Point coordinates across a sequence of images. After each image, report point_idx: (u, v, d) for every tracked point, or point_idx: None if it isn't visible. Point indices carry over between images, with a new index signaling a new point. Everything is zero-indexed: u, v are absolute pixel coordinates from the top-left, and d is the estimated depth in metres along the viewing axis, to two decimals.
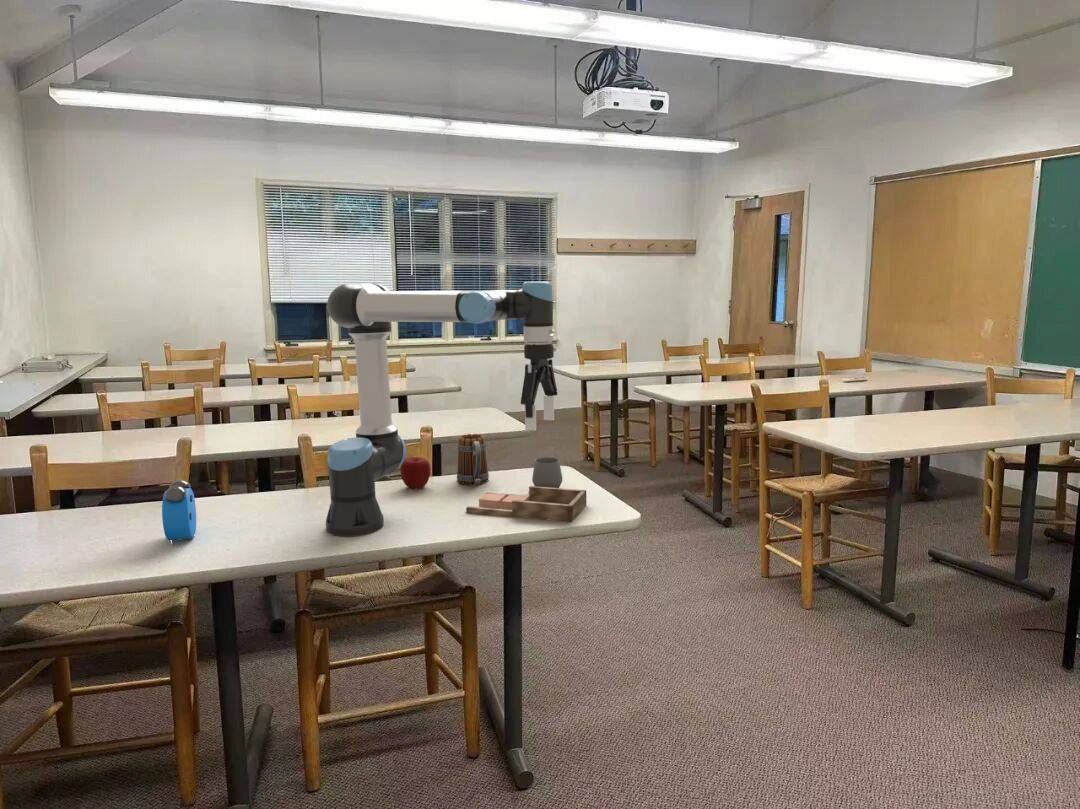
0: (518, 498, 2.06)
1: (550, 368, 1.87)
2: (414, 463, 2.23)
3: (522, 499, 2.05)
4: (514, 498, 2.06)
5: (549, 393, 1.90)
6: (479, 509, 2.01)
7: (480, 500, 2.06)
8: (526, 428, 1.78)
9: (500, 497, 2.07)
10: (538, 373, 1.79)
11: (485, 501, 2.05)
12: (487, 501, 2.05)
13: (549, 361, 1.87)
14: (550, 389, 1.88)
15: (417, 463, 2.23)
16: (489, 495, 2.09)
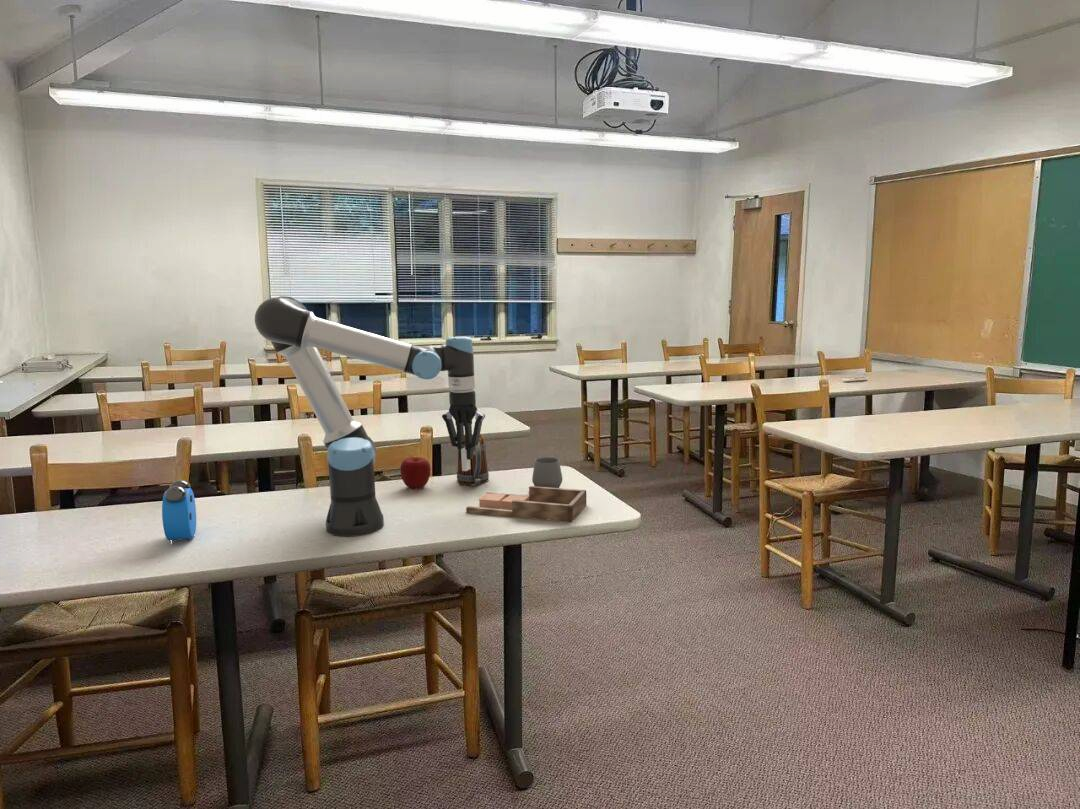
0: (518, 498, 2.06)
1: (476, 421, 2.04)
2: (414, 463, 2.23)
3: (522, 499, 2.05)
4: (514, 498, 2.06)
5: None
6: (479, 509, 2.01)
7: (480, 500, 2.06)
8: None
9: (500, 497, 2.07)
10: None
11: (485, 501, 2.05)
12: (487, 501, 2.05)
13: (479, 415, 2.04)
14: None
15: (417, 463, 2.23)
16: (489, 495, 2.09)
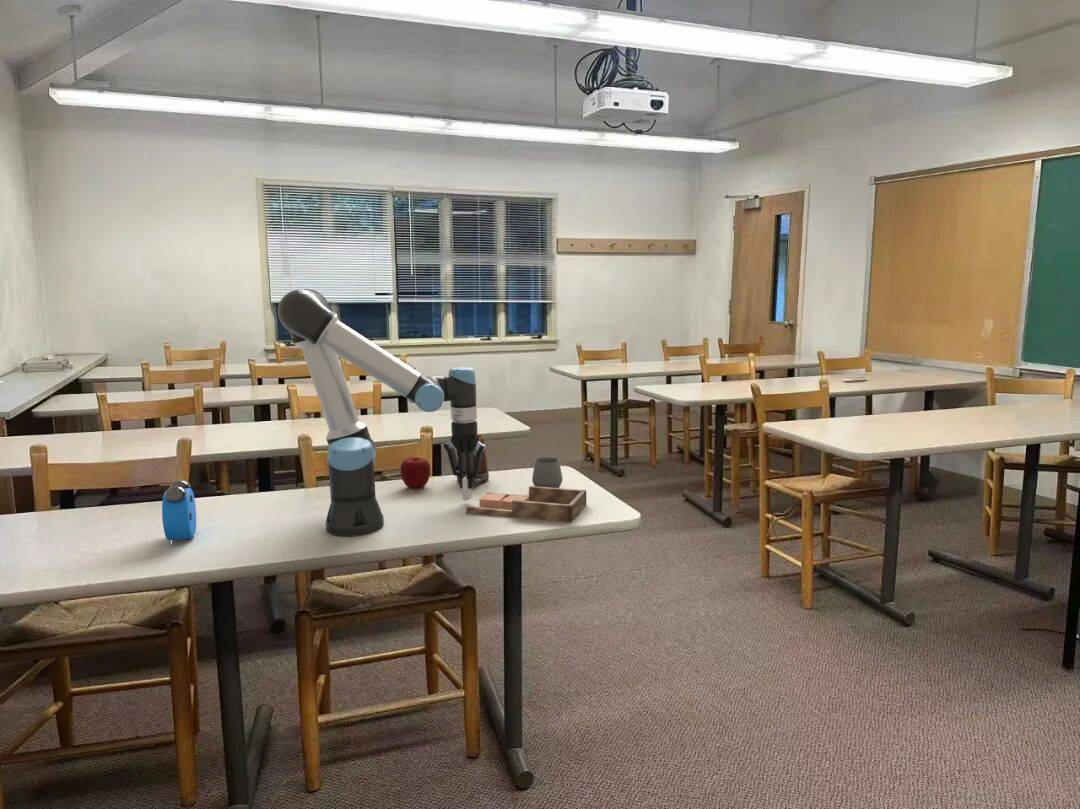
0: (518, 498, 2.06)
1: None
2: (414, 463, 2.23)
3: (522, 499, 2.05)
4: (514, 498, 2.06)
5: None
6: (479, 509, 2.01)
7: (480, 500, 2.06)
8: None
9: (500, 497, 2.07)
10: None
11: (486, 501, 2.05)
12: (487, 501, 2.05)
13: (480, 446, 2.05)
14: None
15: (417, 463, 2.23)
16: (489, 495, 2.09)
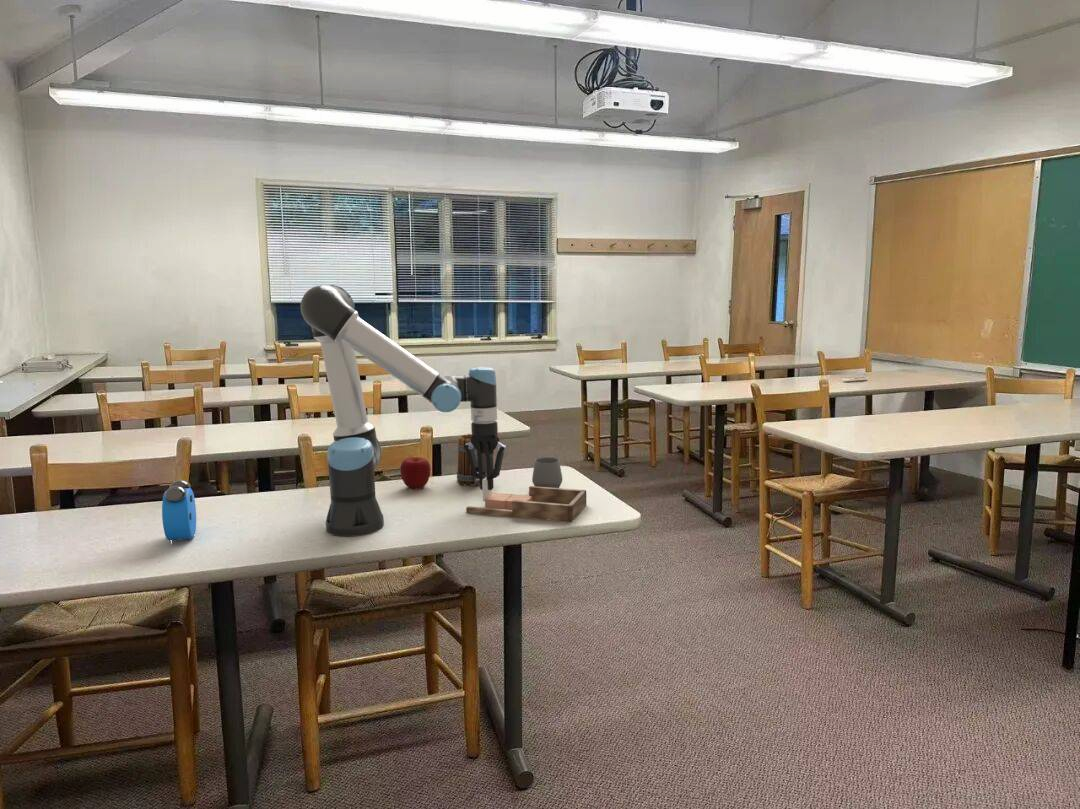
0: (522, 498, 2.06)
1: (498, 452, 2.04)
2: (414, 463, 2.23)
3: (526, 499, 2.05)
4: (518, 498, 2.06)
5: None
6: (479, 509, 2.01)
7: (486, 500, 2.05)
8: None
9: (506, 497, 2.06)
10: None
11: (491, 501, 2.04)
12: (493, 501, 2.04)
13: (501, 446, 2.03)
14: None
15: (417, 463, 2.23)
16: (495, 495, 2.09)
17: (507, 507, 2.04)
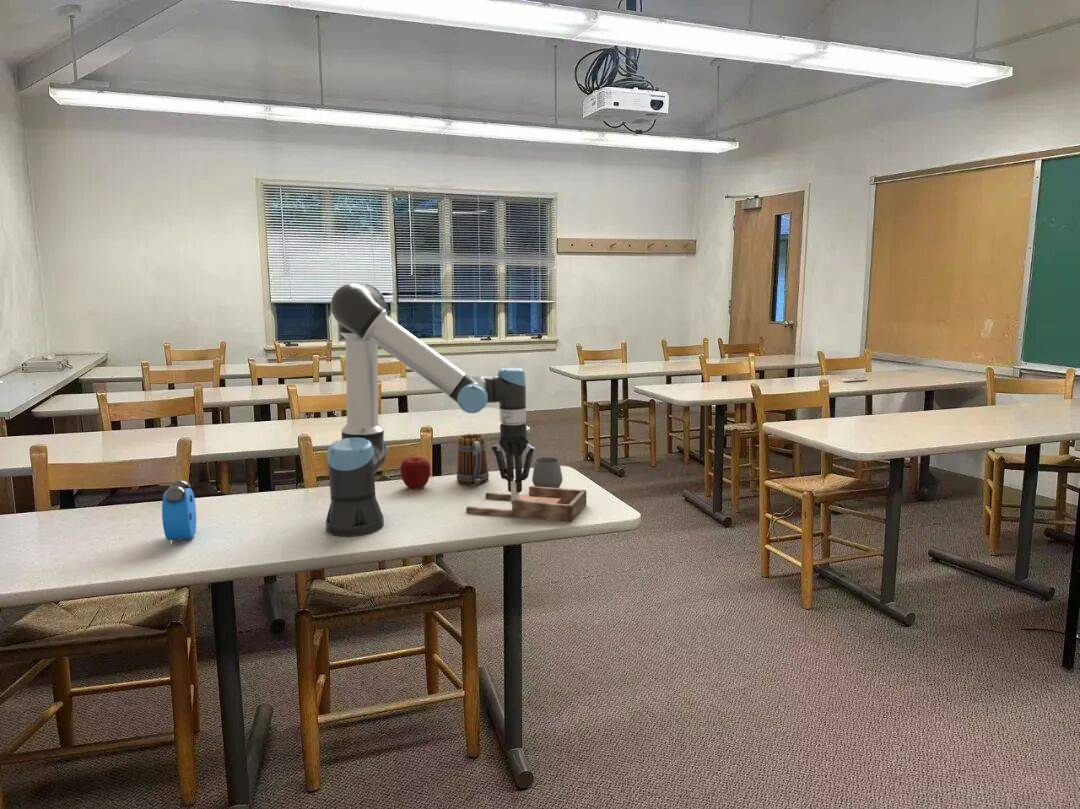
0: (551, 500, 2.03)
1: (527, 454, 2.01)
2: (414, 463, 2.23)
3: (555, 501, 2.02)
4: (546, 500, 2.03)
5: None
6: (479, 509, 2.01)
7: None
8: None
9: (535, 499, 2.03)
10: None
11: None
12: None
13: (530, 448, 2.01)
14: None
15: (417, 463, 2.23)
16: (523, 497, 2.06)
17: None
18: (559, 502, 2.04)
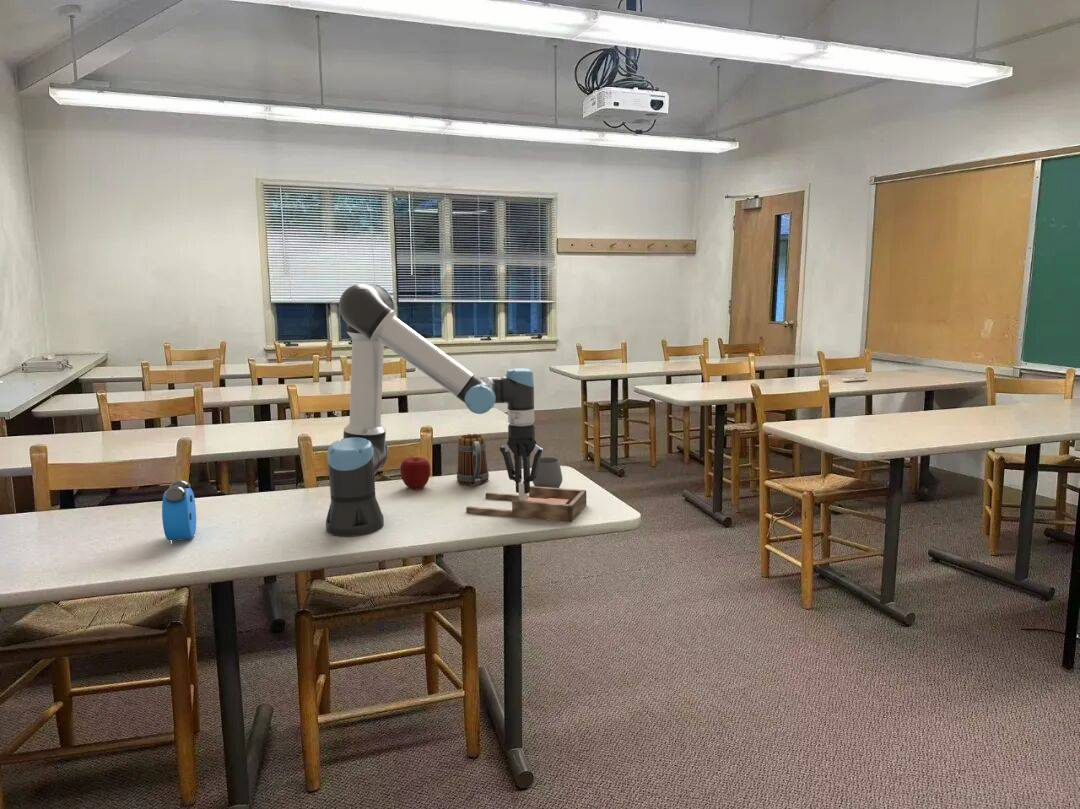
0: (559, 501, 2.02)
1: (535, 455, 2.00)
2: (414, 463, 2.23)
3: (563, 502, 2.01)
4: (555, 501, 2.02)
5: None
6: (479, 509, 2.01)
7: None
8: None
9: (543, 501, 2.03)
10: None
11: None
12: None
13: (538, 449, 2.00)
14: None
15: (417, 463, 2.23)
16: (531, 499, 2.05)
17: None
18: (567, 503, 2.03)
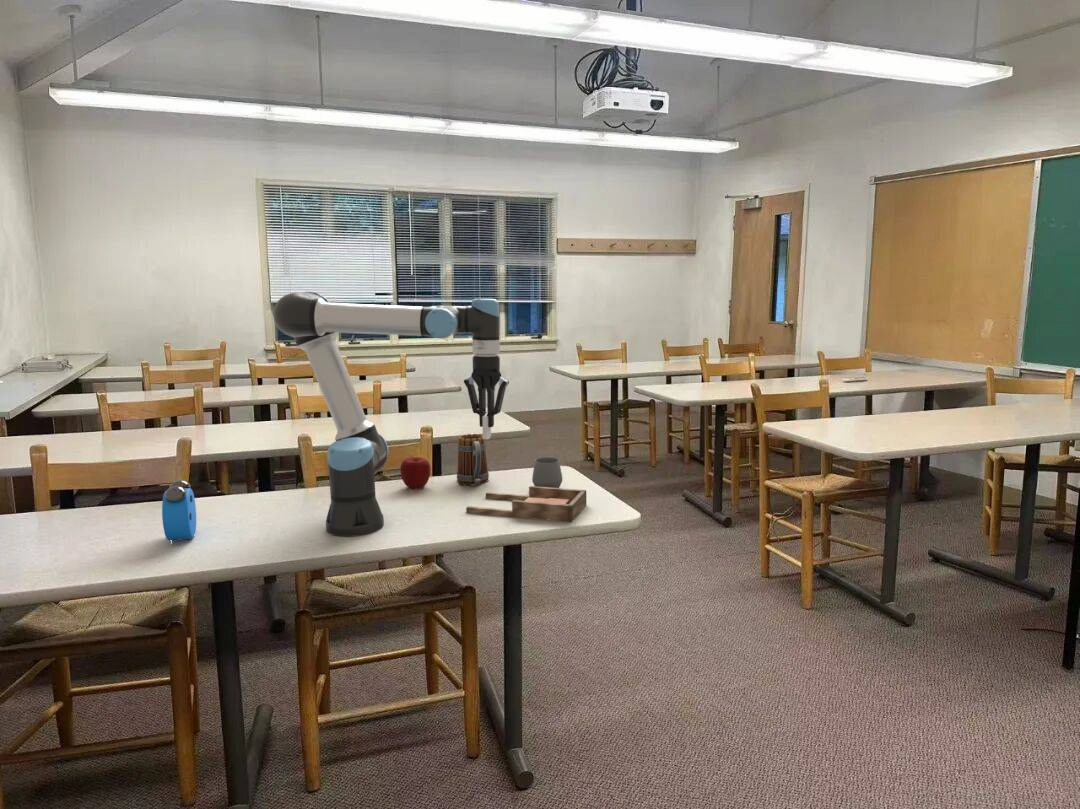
0: (559, 501, 2.02)
1: (499, 387, 1.97)
2: (414, 463, 2.23)
3: (563, 502, 2.01)
4: (555, 501, 2.02)
5: None
6: (479, 509, 2.01)
7: None
8: None
9: (543, 501, 2.02)
10: None
11: None
12: None
13: (503, 381, 1.96)
14: None
15: (417, 463, 2.23)
16: (531, 499, 2.05)
17: None
18: (567, 503, 2.03)
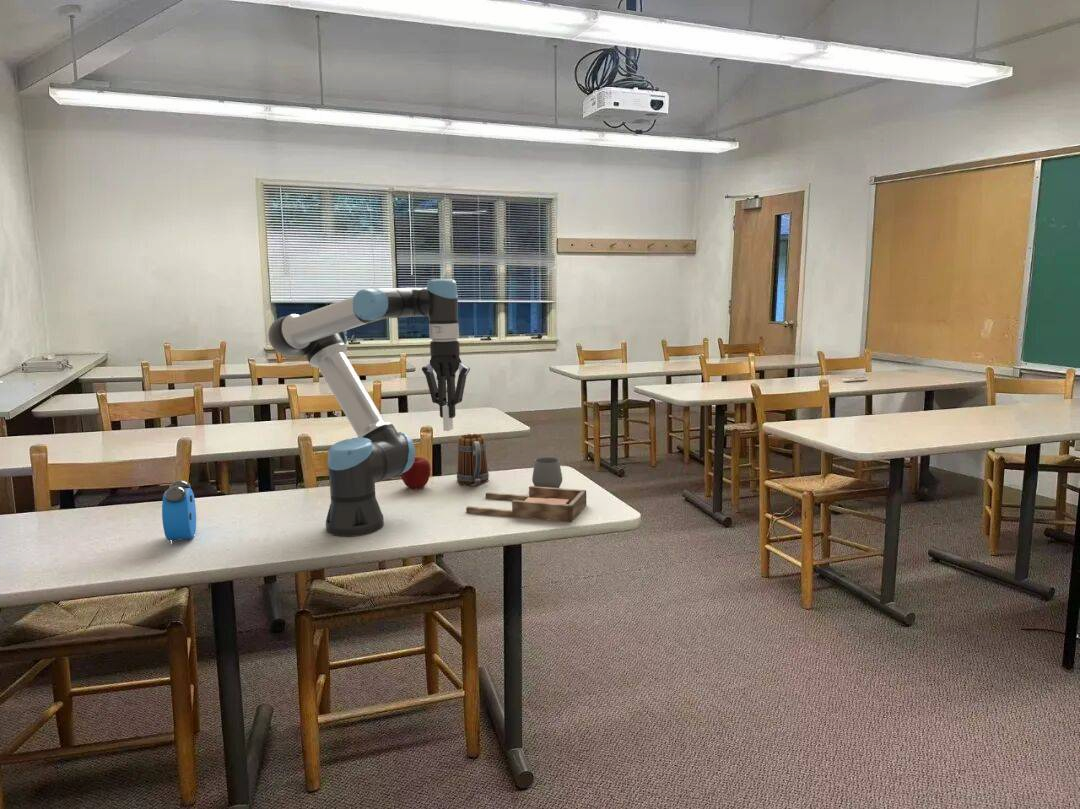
0: (559, 501, 2.02)
1: None
2: (414, 463, 2.23)
3: (563, 502, 2.01)
4: (555, 501, 2.02)
5: None
6: (479, 509, 2.01)
7: None
8: None
9: (543, 501, 2.03)
10: None
11: None
12: None
13: None
14: None
15: (417, 463, 2.23)
16: (531, 499, 2.05)
17: None
18: (567, 503, 2.03)
